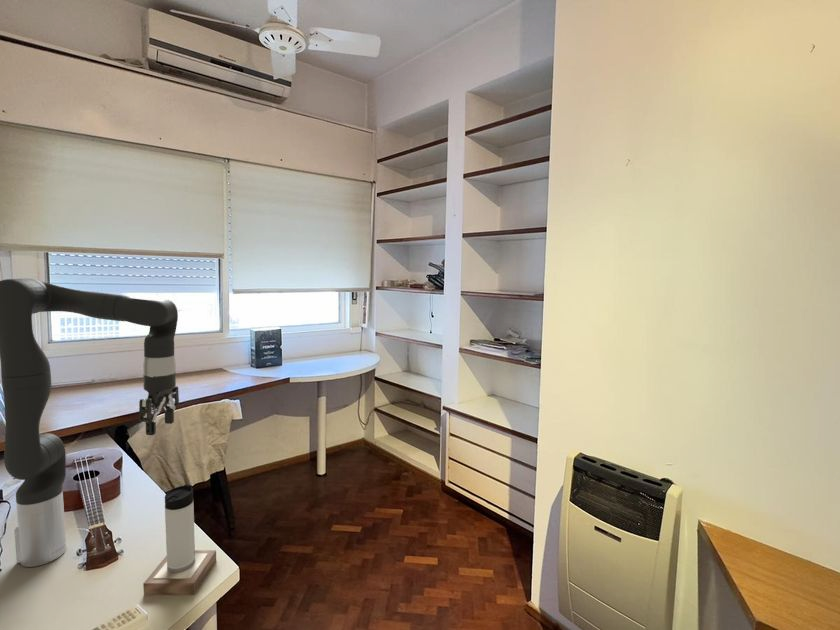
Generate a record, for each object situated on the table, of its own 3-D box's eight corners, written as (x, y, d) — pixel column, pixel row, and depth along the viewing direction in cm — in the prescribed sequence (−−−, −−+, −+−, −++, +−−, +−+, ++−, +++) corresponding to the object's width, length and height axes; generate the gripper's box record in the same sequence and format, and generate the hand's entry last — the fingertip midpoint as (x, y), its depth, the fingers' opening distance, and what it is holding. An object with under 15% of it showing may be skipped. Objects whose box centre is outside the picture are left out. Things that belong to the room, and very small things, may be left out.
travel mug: (201, 558, 109) (199, 486, 107) (181, 575, 103) (178, 499, 101) (182, 553, 111) (180, 482, 109) (161, 570, 105) (158, 495, 103)
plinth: (143, 594, 101) (143, 582, 101) (171, 560, 113) (170, 549, 112) (194, 594, 101) (193, 582, 101) (216, 560, 113) (216, 549, 113)
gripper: (161, 365, 121) (162, 419, 123) (128, 377, 107) (129, 438, 109) (187, 366, 121) (187, 420, 123) (157, 378, 107) (158, 439, 109)
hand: (160, 428), depth 116 cm, fingers open, 8 cm apart
